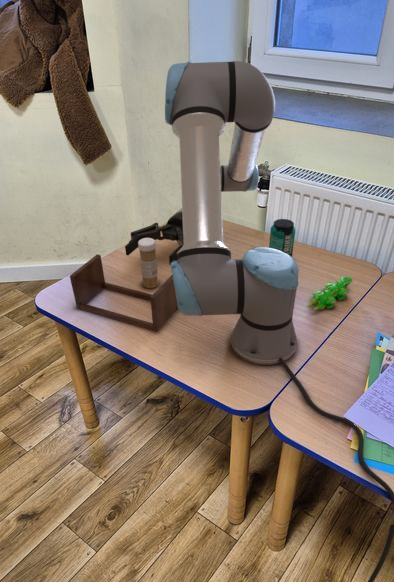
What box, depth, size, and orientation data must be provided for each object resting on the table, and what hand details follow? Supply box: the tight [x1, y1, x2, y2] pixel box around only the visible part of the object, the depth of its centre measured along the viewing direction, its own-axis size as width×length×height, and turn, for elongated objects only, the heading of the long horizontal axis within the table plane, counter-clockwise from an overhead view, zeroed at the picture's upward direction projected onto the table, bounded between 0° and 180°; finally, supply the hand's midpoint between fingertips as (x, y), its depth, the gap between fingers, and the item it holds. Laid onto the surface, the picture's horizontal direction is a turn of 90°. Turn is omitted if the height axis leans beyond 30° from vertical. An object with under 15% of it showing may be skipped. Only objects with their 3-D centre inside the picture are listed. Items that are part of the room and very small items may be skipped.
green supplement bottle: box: [268, 218, 296, 258], centre depth 137 cm, size 7×7×12 cm
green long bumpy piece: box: [306, 275, 354, 311], centre depth 123 cm, size 7×18×4 cm, turn 134°
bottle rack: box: [69, 253, 178, 333], centre depth 120 cm, size 12×24×10 cm, turn 65°
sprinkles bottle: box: [138, 238, 159, 289], centre depth 127 cm, size 5×5×14 cm
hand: (148, 255), depth 126 cm, fingers open, 13 cm apart
